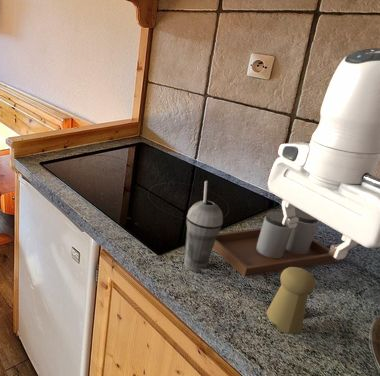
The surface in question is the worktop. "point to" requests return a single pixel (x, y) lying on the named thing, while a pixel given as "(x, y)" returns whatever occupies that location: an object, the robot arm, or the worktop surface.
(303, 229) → the grey shaker
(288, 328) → the cork
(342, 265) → the worktop surface
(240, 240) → the spice tray
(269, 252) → the cylinder
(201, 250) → the beverage cup
